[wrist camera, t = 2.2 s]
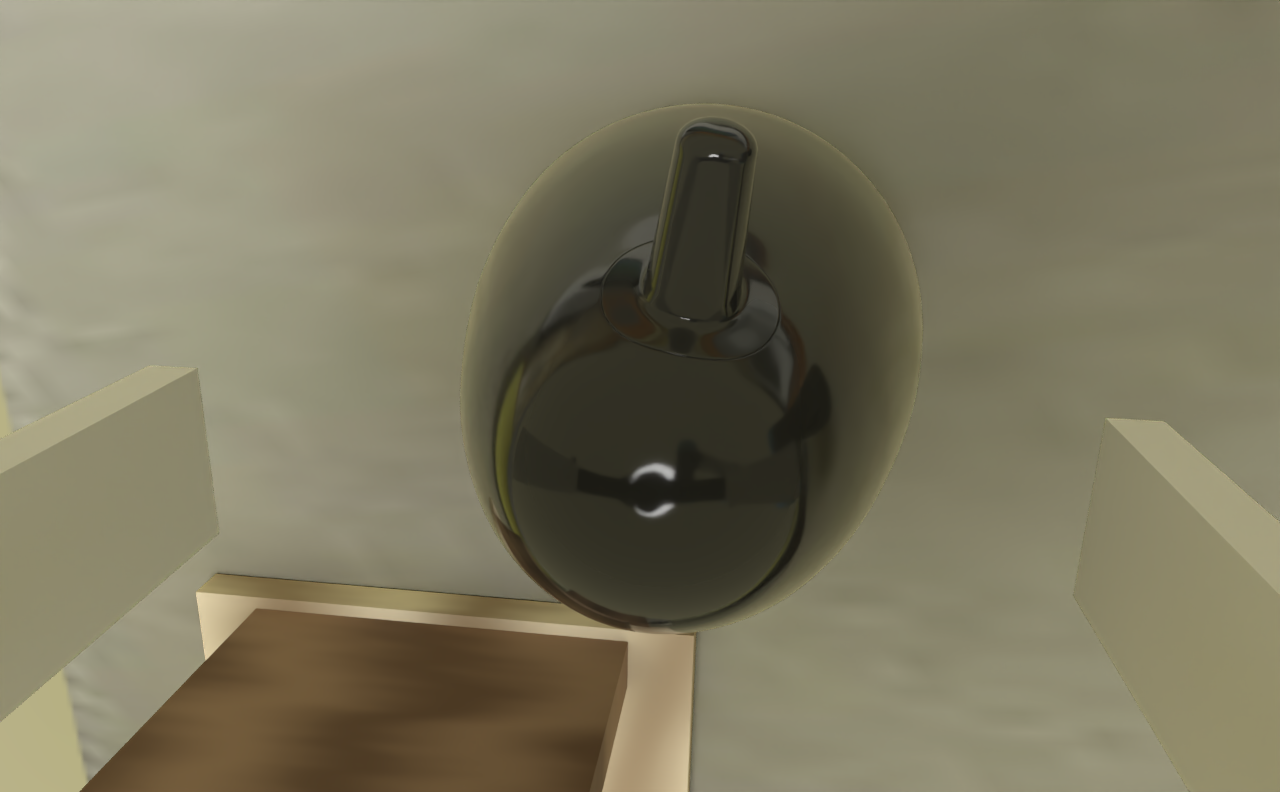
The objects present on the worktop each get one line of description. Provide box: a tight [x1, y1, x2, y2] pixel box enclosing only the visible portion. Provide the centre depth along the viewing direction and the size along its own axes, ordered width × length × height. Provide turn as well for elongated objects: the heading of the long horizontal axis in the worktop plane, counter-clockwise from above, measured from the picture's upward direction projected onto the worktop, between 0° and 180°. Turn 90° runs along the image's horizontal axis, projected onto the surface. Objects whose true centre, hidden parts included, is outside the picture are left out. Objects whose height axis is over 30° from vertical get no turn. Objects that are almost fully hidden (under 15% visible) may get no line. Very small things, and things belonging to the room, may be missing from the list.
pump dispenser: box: [460, 103, 923, 634], centre depth 20 cm, size 10×10×15 cm
